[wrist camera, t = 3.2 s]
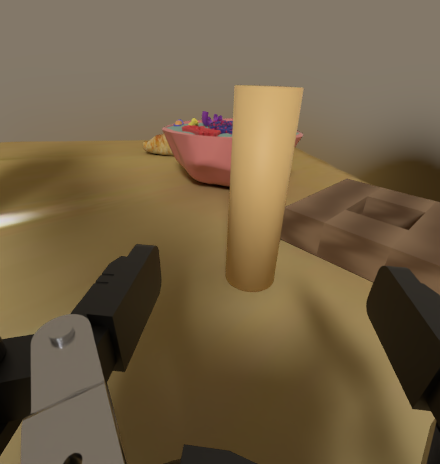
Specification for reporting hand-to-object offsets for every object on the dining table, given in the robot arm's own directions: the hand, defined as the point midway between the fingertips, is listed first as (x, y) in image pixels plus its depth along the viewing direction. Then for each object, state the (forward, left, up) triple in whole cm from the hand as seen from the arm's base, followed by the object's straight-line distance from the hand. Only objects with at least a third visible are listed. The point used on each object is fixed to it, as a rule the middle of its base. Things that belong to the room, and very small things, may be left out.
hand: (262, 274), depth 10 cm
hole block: (-2, +22, -8) cm, 23 cm away
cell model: (-25, +24, -8) cm, 35 cm away
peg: (-7, +8, -8) cm, 13 cm away
